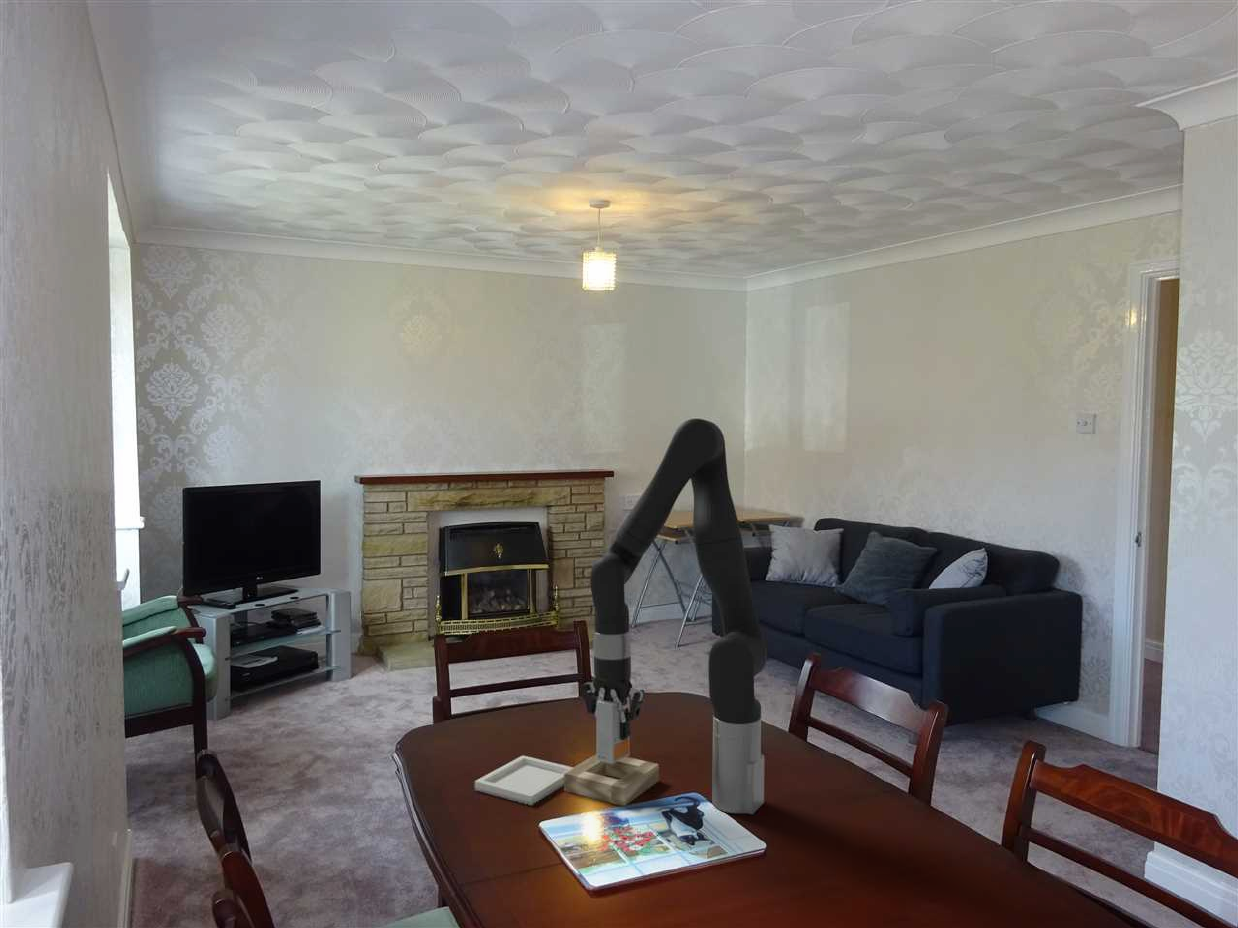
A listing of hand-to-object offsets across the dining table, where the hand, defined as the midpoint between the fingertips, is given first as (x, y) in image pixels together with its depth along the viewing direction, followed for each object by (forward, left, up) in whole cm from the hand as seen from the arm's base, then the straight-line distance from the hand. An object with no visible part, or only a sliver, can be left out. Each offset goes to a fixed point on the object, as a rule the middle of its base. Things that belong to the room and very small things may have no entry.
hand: (613, 736), depth 177 cm
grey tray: (+16, +8, -10) cm, 20 cm away
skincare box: (0, 0, -5) cm, 5 cm away
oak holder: (0, 0, -10) cm, 10 cm away
